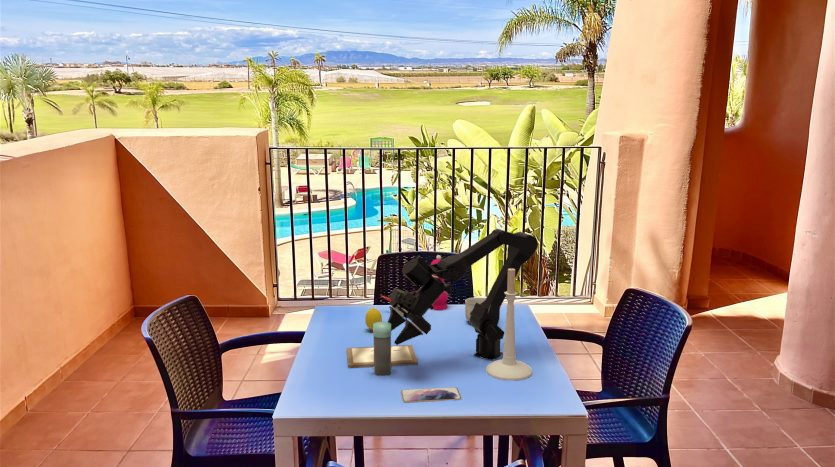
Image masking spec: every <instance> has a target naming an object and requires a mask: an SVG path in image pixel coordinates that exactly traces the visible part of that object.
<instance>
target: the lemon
mask: <svg viewBox="0 0 835 467" xmlns="http://www.w3.org/2000/svg"><path fill="white" fill-rule="evenodd" d="M364 320H365V325H366V327H367V328H368V329H370V330H371V331H373V324H374V323H376V322H383V318H382V313H381V311H380V310H379V309H377V308H375V307H372V308H370V309H368V310H367V312H366V313H365V319H364Z"/></svg>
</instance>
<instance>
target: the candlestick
mask: <svg viewBox="0 0 835 467" xmlns="http://www.w3.org/2000/svg"><path fill="white" fill-rule="evenodd" d="M515 285H516V278H515V269H512V268H511V269H508V285H507V292H504V293H505V294H506V297H505V300H506V302H507V304H506V312H505V313H506V314H505V326H504V342H503V352H502V353H503V355H502V356H503V357H502V359H498V360H493V361H492V362H491V363H489V364H487V366H486V368H485V373H486V374H487V375H488V374H489V375H488V376H490V377H491V376H492V377H491V378H493V377H494V379H496V378H497V380H500V379H501V381H507V380H510V381H509V382H511V380H513V381H512V382H514V381H515V380H517V381H522V380H526V379H529V378H530V377H531V376H532V375H533V369H532V368H531V367H530V366H529V365H528V364H526V363H525V362H523V361H520V360H517V358H516V357H517V354H516V330H515V329H516V328H515V327H516V326H515V324H516V323H515V305H514V304H515V300H516V296H517V294H519V293H518V292H516V288H515V287H516V286H515ZM528 377H529V378H528Z"/></svg>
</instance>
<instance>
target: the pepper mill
mask: <svg viewBox="0 0 835 467" xmlns="http://www.w3.org/2000/svg"><path fill="white" fill-rule="evenodd" d="M442 259H443V258H442V255H439V254H437V255H436V259H433V260H432V261H431V262H430V265H432V264H436V263H438V262H439V261H440V260H442ZM432 276H433V277H434V278H435V279H436V278H439V277H437V276H435V275H434V274H433V275H432ZM439 279H441V280H442V281H443V282H444V283H445V280H444V279H442V278H439ZM448 299H449V294H447V293H445V292H443V293H442V294H441V295H440V297H439V298H438V299H437V300H436V301H435V302H434V304H433V305H432V306H433V307H434V308H433V309H434V311H443V310H442V309H445V310H446V309H447V308H448V303H447V301H448ZM433 309H432V310H433Z"/></svg>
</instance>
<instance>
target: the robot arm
mask: <svg viewBox="0 0 835 467" xmlns="http://www.w3.org/2000/svg"><path fill="white" fill-rule="evenodd" d="M502 245H503V246H504V245H506V246H507V253H506V260H505V261H504V263H503V265H502V267H501V269H500V271H499V272H498V274H497V277H496V278H495V280H494V282H493V284H492V286H491V288H490V291H489V292H488V294H487V296H486V300H485V301H484V302H482V303H481V304H479V303H476V304H475V305H474V308H473V310H472V312H471V313H470V315H471V316H470V321H469V323H470V326H471V327H472V328H473V329H474V331H475V333H477V334H476V339H475V353H474V354H473V356H474V357H477V358H482V359H485V360H490V361H495V359H498V358H499V357H501V356H503V352H501V340H502V339H503V338H504V337H505V330H503V329H502V328H501V327H500V326H499V325H498V324H499V321H500V319H501V318H500V315H501V314H500V312H501V306H502V305H503V302H504V300H506V294H505V293H504V292H507V285H508V269H511V268H512V269H515V279H516V277H517V275H518V273H519V271H520V270H521V268H522V266H523V265H524V264H526V263H527V262H528V261H529V260H530V259H532V258H533V256H534V254H535V252H536V251H537V249H538V247H539V242H538V239H537V238H536V236H534V235H533V234H532V235H531V234H529V233H525V232H522V231H518V232H514V233H513V232H509V231H506V230H503V229H500V228H495V229H493V230H492V231H491V232H490V233H489V234H488V235H486V236H484V237H483V238H481V239H480V240H478V241H477V242H475V243H473V244H472V245H471V246H469V247H468V248H466V249H465V250H463V251H461V252H459V253H457V254H451V255H449V256H447V257H444V258H441V259H442V260H440V261H439V262H438V263H436V264H432V265H431V264H428V263H427V262H426V261H425V259H424V258H423V257H421V256H420V255H417V256H416V257H415V258H412V259H411V260H409V261H407V262H406V263H405V264H404V265H403V267H402V270H401V274H402V275H403V276H405V278H406V279H408V280H409V281H410V282H411V283H412V284H413V285H414V286H415V287H420V288H418V289H417V290H412V291H408V290H405V291H404V290H401V289H398V288H396V287H394V288H393V289H392V291H391V294H390V296H389V298H390V299H392V301H391V302H388V304H389V307H388V308H389V311H390V314H389V317H388V319H387V322H389V323H391V332H392V331H393V330H395V329H396V328H398V327H400V326H401V325H403V324H404V327H403V329H402V330H401V331H400V332H399V334H398V336H396V338H395V340H394V341H393V342H394V344H395V346H399V345H401V344H402V343H404V342H407V341H409V340H412V339H413V338H417V337H420V336H423V335H424V334H425V335H428V334H429V332H430V331H431V330H432V324H431V323H429V322H428V321H427V320H426V319H425V318H424V317H423V316H424V315H425V314H426V313H427V311H429V310H431V311H433V308H434V307H433V306H432V305H433V304H434V302H435V301H436V300H437V299H438V298H439V297H440V295H441V294H442V293H443V292H445V293H447V294H448V296H451V295H452V291H451V290H452V288H451V287H452V286H451V284H453V283H456V282H457V283H458V281H459V280H461V279H462V278H463V277H464V276H465V275H466V274H467V272H468V271H469V268H471V267H472V265H474V264H476V263H478V262H479V261H480V260H482V259H483V258H485V257H486V256H488V255H490V254H491V253H492V252H494V251H495V250H496V249H498V248H501V246H502ZM433 274H434V275H435V276H437V277H439V278H442V279H444V282H443V281H442V280H441V279H439V278H436V279H435V278H434V277H433V276H432V275H433ZM445 281H447V282H448V283H445ZM449 283H451V284H449ZM416 291H417V292H416Z"/></svg>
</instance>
